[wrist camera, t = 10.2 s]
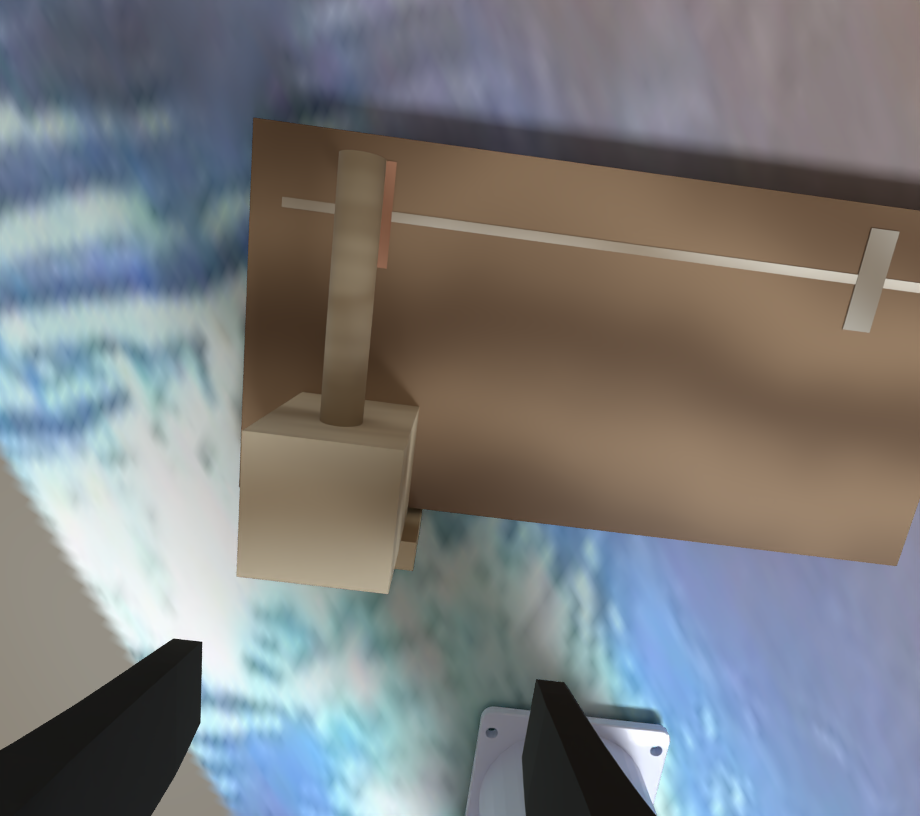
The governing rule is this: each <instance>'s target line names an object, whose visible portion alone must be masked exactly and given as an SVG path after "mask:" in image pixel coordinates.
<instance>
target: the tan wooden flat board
mask: <svg viewBox="0 0 920 816" xmlns="http://www.w3.org/2000/svg"><path fill="white" fill-rule="evenodd" d="M341 150H357V151H363V152H368V153H372V154H376V155H379V156H381V157H383V158H385V159H386V160H387V162H386V173H385V184H384V195H383V206H382V217H381V228H380V239H379V250H378V261H377V272H376V283H375V294H374V305H373V316H372V327H371V338H370V349H369V360H368V371H367V382H366V393H365V400H370V401H378V402H386V403H393V404H401V405H409V406H417V407H419V415H418V424H417V432H416V441H415V450H414V458H413V467H412V476H411V485H410V493H409V502H408V507H410V508H418V509H427V510H435V511H443V512H451V513H460V514H468V515H476V516H485V517H493V518H501V519H510V520H518V521H526V522H535V523H543V524H551V525H559V526H568V527H576V528H584V529H593V530H601V531H609V532H618V533H626V534H634V535H643V536H651V537H659V538H667V539H676V540H684V541H692V542H701V543H709V544H717V545H726V546H734V547H742V548H751V549H759V550H767V551H776V552H784V553H792V554H800V555H809V556H817V557H825V558H834V559H842V560H850V561H859V562H867V563H875V564H884V565H892V566H897V564H898V561H899V558H900V555H901V552H902V549H903V546H904V543H905V540H906V537H907V534H908V532H909V529H910V526H911V523H912V520H913V517H914V514H915V511H916V508H917V505H918V502H919V500H920V211H918V210H911V209H904V208H897V207H889V206H882V205H875V204H868V203H861V202H854V201H846V200H839V199H832V198H825V197H818V196H811V195H804V194H796V193H789V192H782V191H775V190H768V189H761V188H754V187H746V186H739V185H732V184H725V183H718V182H711V181H703V180H696V179H689V178H682V177H675V176H668V175H661V174H653V173H646V172H639V171H632V170H625V169H618V168H610V167H603V166H596V165H589V164H582V163H575V162H568V161H560V160H553V159H546V158H539V157H532V156H525V155H518V154H510V153H503V152H496V151H489V150H482V149H475V148H467V147H460V146H453V145H446V144H439V143H432V142H425V141H417V140H410V139H403V138H396V137H389V136H382V135H375V134H367V133H360V132H353V131H346V130H339V129H332V128H324V127H317V126H310V125H303V124H296V123H289V122H282V121H274V120H267V119H260V118H253V140H252V166H251V192H250V218H249V244H248V270H247V297H246V323H245V349H244V375H243V401H242V427H241V448H242V430H244V429H245V428H247V427H249V426H250V425H252V424H253V423H255V422H256V421H258V420H259V419H261V418H263V417H264V416H266V415H267V414H269V413H270V412H272V411H273V410H275V409H277V408H278V407H280V406H281V405H283V404H284V403H286V402H287V401H289V400H291V399H292V398H294V397H295V396H297V395H298V394H300V393H302V392H306V393H314V394H322V380H323V366H324V352H325V339H326V325H327V311H328V297H329V283H330V269H331V255H332V242H333V228H334V214H335V200H336V186H337V172H338V158H339V151H341ZM240 474H241V453H240ZM239 487H240V479H239Z"/></svg>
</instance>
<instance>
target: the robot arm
mask: <svg viewBox="0 0 920 816" xmlns="http://www.w3.org/2000/svg"><path fill="white" fill-rule="evenodd" d="M201 675H202V642H199V641H190V640H181V639H172V640H171V641H169V642H168V643H166V644H165V645H163V646H162V647H160V648H159V649H157V650H156V651H154V652H153V653H151V654H150V655H148V656H147V657H145V658H144V659H142V660H141V661H139V662H138V663H136V664H135V665H134V666H132V667H131V668H129V669H128V670H126V671H125V672H123V673H122V674H120V675H119V676H117V677H116V678H114V679H113V680H112V681H110V682H109V683H107V684H105V685H104V686H102V687H101V688H100V689H98V690H96V691H95V692H93V693H92V694H90V695H89V696H87V697H86V698H84V699H83V700H81V701H80V702H78V703H77V704H75V705H74V706H72V707H71V708H69V709H67V710H66V711H64V712H62V713H61V714H59V715H58V716H56V717H54V718H53V719H51V720H49V721H48V722H46V723H45V724H43V725H41V726H40V727H38V728H37V729H35V730H33V731H32V732H30V733H28V734H27V735H25V736H23V737H22V738H20V739H19V740H17V741H15V742H14V743H12V744H10V745H9V746H7V747H5V748H3V749H2V750H0V816H151V815H152V813H153V812H154V810H155V808H156V807H157V805H158V803H159V802H160V800H161V798H162V797H163V795H164V793H165V792H166V790H167V789H168V787H169V785H170V783H171V782H172V780H173V778H174V777H175V775H176V773H177V771H178V769H179V767H180V765H181V763H182V761H183V759H184V757H185V755H186V753H187V751H188V748H189V746H190V744H191V742H192V740H193V738H194V735H195V733H196V731H197V729H198V727H199V725H200V717H201ZM489 728H495V730H492V731H490V730H487V729H489ZM669 743H670V736H669V734H668V732H667V730H666V728H665V727H663V726H662V725H658V724H649V723H640V722H631V721H622V720H613V719H604V718H595V717H586V715H585V714H584V712H583V711H582V709H581V708H580V706H579V704H578V703H577V701H576V700H575V698H574V696H573V695H572V693H571V692H570V690H569V688H568V687H567V686H566V684H565V683H564V682H556V681H547V680H538V679H536V683H535V689H534V694H533V699H532V705H531V710H522V709H513V708H504V707H495V706H494V707H488V708H486V709H485V710H484V711H483V712H482V714H481V719H480V726H479V732H478V738H477V744H476V750H475V756H474V762H473V769H472V775H471V781H470V787H469V793H468V799H467V805H466V812H465V816H657V814H656V811H655V809H654V806H653V805H654V801H655V797H656V793H657V789H658V786H659V782H660V778H661V774H662V770H663V766H664V762H665V759H666V755H667V751H668V747H669ZM654 746H657V747H655V748H652V747H654Z"/></svg>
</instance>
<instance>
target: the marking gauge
mask: <svg viewBox="0 0 920 816" xmlns="http://www.w3.org/2000/svg"><path fill="white" fill-rule="evenodd" d="M386 162H387V160H386V159H385V158H383V157H381V156H379V155H376V154H372V153H368V152H363V151H357V150H341V151H339V158H338V172H337V186H336V200H335V214H334V228H333V242H332V255H331V269H330V283H329V297H328V311H327V325H326V339H325V352H324V366H323V380H322V394H314V393H306V392H302V393H300V394H298V395H297V396H295V397H294V398H292V399H291V400H289V401H287V402H286V403H284V404H283V405H281V406H280V407H278V408H277V409H275V410H273V411H272V412H270V413H269V414H267V415H266V416H264V417H263V418H261V419H259V420H258V421H256V422H255V423H253V424H252V425H250V426H249V427H247V428H245V429H244V430H242V448H241V474H240V500H239V526H238V551H237V577H245V578H253V579H262V580H270V581H279V582H288V583H296V584H305V585H314V586H322V587H331V588H340V589H348V590H357V591H366V592H374V593H383V594H388V593H389V589H390V584H391V580H392V576H393V572H394V569H401V570H409V571H413V568H414V562H415V556H416V550H417V544H418V538H419V532H420V526H421V517H422V509H418V508H410V507H408V502H409V493H410V485H411V476H412V467H413V458H414V450H415V441H416V432H417V424H418V415H419V407H417V406H409V405H401V404H393V403H386V402H378V401H370V400H365V393H366V382H367V371H368V360H369V349H370V338H371V327H372V316H373V305H374V294H375V283H376V272H377V261H378V250H379V239H380V228H381V217H382V206H383V195H384V184H385V173H386Z"/></svg>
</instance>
